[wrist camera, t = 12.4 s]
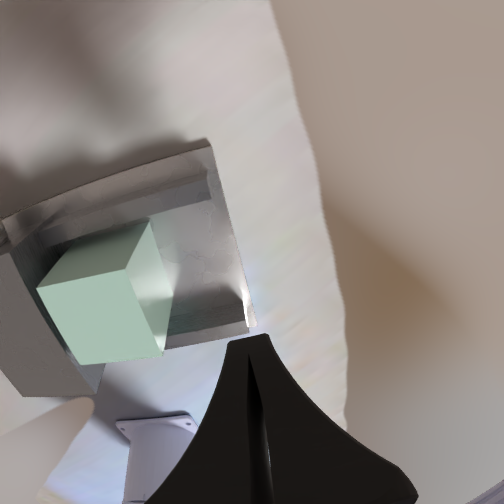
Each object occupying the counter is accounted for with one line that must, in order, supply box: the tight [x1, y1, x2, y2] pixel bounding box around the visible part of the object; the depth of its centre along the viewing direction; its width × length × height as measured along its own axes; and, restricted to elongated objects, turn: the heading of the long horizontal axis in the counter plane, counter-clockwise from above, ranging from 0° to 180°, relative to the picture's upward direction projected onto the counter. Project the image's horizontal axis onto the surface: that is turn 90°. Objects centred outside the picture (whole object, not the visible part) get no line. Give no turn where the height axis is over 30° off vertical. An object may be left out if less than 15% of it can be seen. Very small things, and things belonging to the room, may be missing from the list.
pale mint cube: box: [36, 222, 173, 365], centre depth 16 cm, size 5×5×6 cm
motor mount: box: [0, 145, 258, 397], centre depth 16 cm, size 13×18×6 cm
